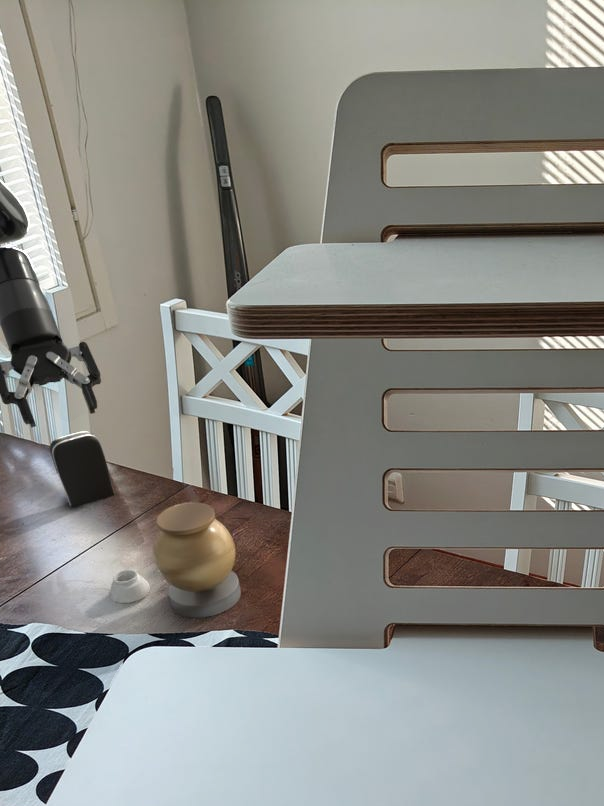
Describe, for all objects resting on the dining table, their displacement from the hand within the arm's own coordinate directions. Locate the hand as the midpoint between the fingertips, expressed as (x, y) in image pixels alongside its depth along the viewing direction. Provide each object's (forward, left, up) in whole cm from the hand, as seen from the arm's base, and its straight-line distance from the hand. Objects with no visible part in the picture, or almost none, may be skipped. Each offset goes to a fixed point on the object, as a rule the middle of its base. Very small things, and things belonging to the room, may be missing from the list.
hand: (63, 418), depth 145 cm
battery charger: (+2, -4, -13) cm, 13 cm away
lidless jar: (+11, -31, -13) cm, 35 cm away
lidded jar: (+21, -33, -12) cm, 41 cm away
